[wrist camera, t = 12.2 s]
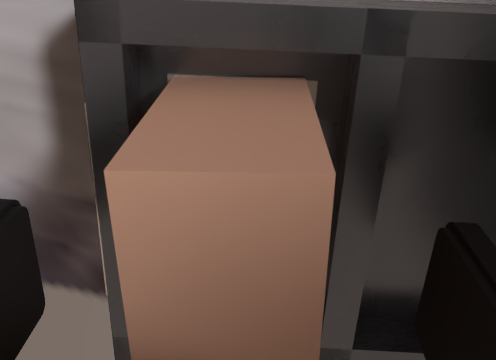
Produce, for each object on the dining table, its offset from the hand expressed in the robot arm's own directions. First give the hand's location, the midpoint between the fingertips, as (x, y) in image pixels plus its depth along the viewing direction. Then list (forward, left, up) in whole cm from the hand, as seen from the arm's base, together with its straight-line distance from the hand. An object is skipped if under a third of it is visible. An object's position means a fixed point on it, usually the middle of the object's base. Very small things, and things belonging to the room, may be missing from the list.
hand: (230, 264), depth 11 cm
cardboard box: (0, 0, -4) cm, 4 cm away
